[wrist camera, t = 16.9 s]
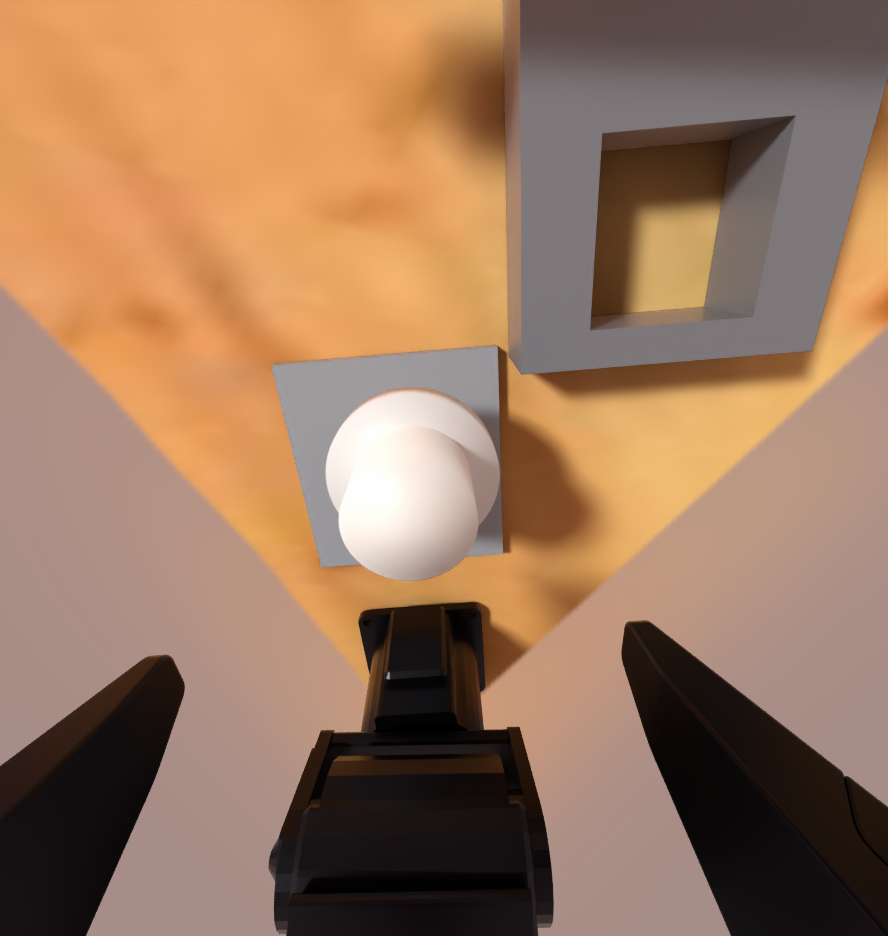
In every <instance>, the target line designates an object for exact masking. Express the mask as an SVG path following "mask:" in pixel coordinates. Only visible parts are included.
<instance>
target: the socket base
mask: <svg viewBox="0 0 888 936" xmlns="http://www.w3.org/2000/svg"><path fill="white" fill-rule="evenodd" d="M503 27H504V90H505V153H506V217H507V280H508V343H509V358H510V359H511V360H512V362H513V363H514V365H515V366H516V368H517V369H518V371H519V372H520V373H521V375H524V374H536V373H549V372H561V371H573V370H585V369H597V368H609V367H621V366H633V365H645V364H658V363H670V362H682V361H694V360H706V359H718V358H730V357H742V356H755V355H767V354H779V353H791V352H803V351H812V350H813V346H814V343H815V339H816V336H817V332H818V328H819V325H820V321H821V318H822V314H823V310H824V307H825V303H826V300H827V296H828V292H829V289H830V285H831V282H832V278H833V274H834V271H835V267H836V264H837V260H838V256H839V253H840V249H841V245H842V242H843V238H844V235H845V231H846V227H847V224H848V220H849V217H850V213H851V209H852V206H853V202H854V199H855V195H856V191H857V188H858V184H859V181H860V177H861V173H862V170H863V166H864V163H865V159H866V155H867V152H868V148H869V145H870V141H871V137H872V134H873V130H874V127H875V123H876V119H877V116H878V112H879V109H880V105H881V101H882V98H883V94H884V90H885V87H886V83H887V80H888V0H503ZM731 139H732V143H731V149H730V155H729V161H728V167H727V173H726V179H725V185H724V191H723V197H722V203H721V209H720V215H719V221H718V227H717V233H716V239H715V245H714V251H713V257H712V263H711V269H710V276H709V282H708V288H707V294H706V300H705V306H704V307H696V308H685V309H673V310H661V311H649V312H637V313H626V314H614V315H602V316H591V307H592V291H593V275H594V258H595V242H596V226H597V210H598V193H599V177H600V161H601V151H611V150H622V149H633V148H643V147H654V146H665V145H676V144H687V143H698V142H709V141H720V140H731Z"/></svg>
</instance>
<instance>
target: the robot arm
mask: <svg viewBox="0 0 888 936" xmlns="http://www.w3.org/2000/svg"><path fill="white" fill-rule="evenodd" d="M469 612H474V613H469ZM366 619H370V620H371V621H367V620H366ZM359 628H360V633H361V637H362V642H363V646H364V651H365V655H366V660H367V665H368V669H369V674H370V677H369V683H368V690H367V697H366V703H365V709H364V716H363V722H362V729H361V732H338V733H337V732H334V730H322V731H321V732H320V735H319V738H318V740H317V743H316V745H315V748H313V749H312V750H311V753H310V756H309V758H308V761H307V764H306V766H305V769H304V771H303V774H302V777H301V779H300V782H299V784H298V787H297V790H296V793H295V795H294V798H293V801H292V803H291V805H290V808H289V811H288V813H287V816H286V819H285V821H284V824H283V826H282V829H281V832H280V835H279V838H278V840H277V842H276V843H275V845H274V847H273V849H272V851H271V855H270V859H269V871H270V873H271V875H272V876H273V878H274V880H275V894H274V895H275V896H274V921H275V925H276V930H277V932H278V933H279V934H286V936H538V929H537V928H545V927H546V928H547V927H551V925H552V921H553V906H554V905H553V904H554V902H553V881H552V870H551V862H550V854H549V853H550V852H549V845H548V839H547V832H546V827H545V821H544V816H543V813H542V808H541V804H540V800H539V797H538V793H537V789H536V786H535V782H534V779H533V775H532V771H531V767H530V764H529V760H528V756H527V753H526V749H525V745H524V742H523V738H522V734H521V731H520V727H507V729H503V730H484V727H483V717H482V706H481V697H480V692H481V691H483V690H484V689H485V674H484V656H483V638H482V621H481V609H480V606H479V605H478V604H475V603H460V604H446V605H432V606H419V607H405V608H391V609H377V610H366V611H363V612H362V613H361V614H360V617H359ZM621 653H622V661H623V665H624V668H625V671H626V675H627V678H628V681H629V684H630V687H631V690H632V694H633V697H634V700H635V703H636V706H637V709H638V713H639V716H640V719H641V722H642V725H643V728H644V732H645V734H646V737H647V740H648V743H649V746H650V749H651V751H652V753H653V756H654V758H655V761H656V763H657V765H658V768H659V770H660V772H661V775H662V777H663V779H664V782H665V784H666V786H667V788H668V791H669V793H670V795H671V798H672V800H673V803H674V805H675V807H676V809H677V812H678V814H679V816H680V819H681V821H682V823H683V826H684V828H685V830H686V833H687V835H688V837H689V839H690V842H691V844H692V846H693V849H694V851H695V854H696V856H697V858H698V860H699V863H700V865H701V867H702V870H703V872H704V874H705V877H706V879H707V881H708V884H709V886H710V888H711V891H712V893H713V895H714V897H715V900H716V902H717V904H718V906H719V909H720V911H721V914H722V916H723V918H724V921H725V923H726V925H727V928H728V930H729V932H730V935H731V936H888V807H887V806H886V805H885V804H884V803H882V802H881V801H880V800H878V799H877V798H876V797H874V796H873V795H872V794H870V793H869V792H868V791H867V790H865V789H864V788H863V787H862V786H860V785H859V784H858V783H856V782H855V781H854V780H853V779H851V778H850V777H848V776H845V777H844V775H843V773H842V771H841V770H839V769H838V768H837V767H836V766H834V765H833V764H832V763H830V762H829V761H828V760H827V759H825V758H824V757H822V755H820V754H819V753H818V752H816V751H815V750H814V749H812V748H811V747H810V746H808V745H807V744H806V743H805V742H803V741H802V740H801V739H799V738H798V737H797V736H796V735H795V734H793V733H792V732H791V731H789V730H788V729H787V728H785V727H784V726H783V725H782V724H781V723H779V722H778V721H777V720H775V719H774V718H773V717H772V716H770V715H769V714H768V713H766V712H765V711H764V710H762V709H761V708H760V707H759V706H757V705H756V704H755V703H754V702H752V701H751V700H749V699H748V698H747V697H746V696H745V695H743V694H742V693H740V692H739V691H738V690H737V689H736V688H734V687H733V686H732V685H731V684H729V683H728V682H727V681H725V680H724V679H723V678H722V677H720V676H719V675H718V674H716V673H715V672H714V671H713V670H711V669H710V668H709V667H707V666H706V665H705V664H704V663H702V662H701V661H700V660H699V659H697V658H696V657H695V656H693V655H692V654H691V653H690V652H688V651H687V650H686V649H684V648H683V647H682V646H681V645H679V644H678V643H677V642H675V641H674V640H673V639H672V638H670V637H669V636H668V635H666V634H665V633H664V632H663V631H661V630H660V629H659V628H658V627H656V626H655V625H654V624H652V623H651V622H649V621H646V620H642V621H629V622H627V623H626V625H625V628H624V636H623V644H622V652H621ZM184 690H185V685H184V681H183V679H182V677H181V675H180V673H179V670H178V668H177V666H176V664H175V662H174V660H173V658H172V657H170V656H169V655H156V656H148V657H146V658H144V659H143V660H141V661H140V662H139V663H137V664H136V665H134V666H133V667H132V668H130V669H129V670H128V671H127V672H125V673H124V674H122V675H121V676H120V677H118V678H117V679H116V680H115V681H113V682H112V683H110V684H109V685H108V686H106V687H105V688H104V689H102V690H101V691H100V692H98V693H97V694H96V695H95V696H93V697H92V698H90V699H89V700H88V701H86V702H85V703H84V704H82V705H81V706H80V707H78V708H77V709H76V710H74V711H73V712H72V713H70V714H69V715H68V716H66V717H65V718H64V719H62V720H61V721H60V722H59V723H57V724H56V725H54V726H53V727H52V728H50V729H49V730H48V731H46V732H45V733H44V734H42V735H41V736H40V737H39V738H37V739H36V740H34V741H33V742H32V743H30V744H29V745H28V746H26V747H25V748H24V749H22V750H21V751H20V752H19V753H17V754H16V755H14V756H13V757H12V758H10V759H9V760H8V761H6V762H5V763H4V764H2V765H1V766H0V936H86V935H87V932H88V930H89V928H90V925H91V923H92V921H93V918H94V917H95V914H96V912H97V910H98V907H99V905H100V903H101V901H102V898H103V896H104V894H105V892H106V889H107V887H108V885H109V882H110V880H111V878H112V876H113V873H114V871H115V869H116V867H117V864H118V862H119V860H120V858H121V855H122V853H123V850H124V848H125V846H126V844H127V841H128V839H129V837H130V835H131V833H132V830H133V828H134V826H135V823H136V821H137V819H138V817H139V814H140V812H141V810H142V807H143V805H144V803H145V801H146V799H147V796H148V794H149V792H150V789H151V787H152V784H153V782H154V780H155V777H156V774H157V772H158V769H159V766H160V763H161V761H162V758H163V755H164V752H165V749H166V746H167V743H168V740H169V737H170V734H171V731H172V728H173V725H174V722H175V719H176V716H177V714H178V711H179V708H180V705H181V702H182V699H183V696H184Z"/></svg>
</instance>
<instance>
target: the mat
mask: <svg viewBox="0 0 888 936" xmlns="http://www.w3.org/2000/svg"><path fill="white" fill-rule="evenodd" d="M272 370H273V374H274V378H275V382H276V386H277V390H278V394H279V398H280V403H281V407H282V411H283V415H284V419H285V423H286V427H287V431H288V435H289V439H290V443H291V447H292V451H293V455H294V459H295V463H296V467H297V471H298V475H299V479H300V483H301V487H302V491H303V495H304V499H305V503H306V507H307V511H308V515H309V519H310V523H311V527H312V531H313V535H314V539H315V543H316V547H317V551H318V555H319V559H320V564H321V567H334V566H347V565H361V564H360V563H359V562H358V561H357V560H356V559H355V558H354V557H353V556H352V555H351V554H350V552H349V551H348V549H347V548H346V546H345V544H344V542H343V540H342V537H341V534H340V530H339V513H338V511H337V510H336V508H335V507H334V504H333V502H332V500H331V498H330V495H329V492H328V488H327V483H326V461H327V456H328V452H329V449H330V446H331V444H332V442H333V440H334V438H335V436H336V434H337V432H338V430H339V429H340V427H341V425H342V424H343V422H344V421H345V419H346V418H347V417H348V416H349V414H350V413H351V412H352V411H353V410H354V409H355V408H357V407H358V406H359V405H360V404H361V403H363V402H364V401H366V400H368V399H369V398H371V397H373V396H375V395H377V394H380V393H382V392H385V391H389V390H392V389H398V388H405V387H418V388H428V389H432V390H436V391H440V392H442V393H445V394H448V395H450V396H452V397H454V398H456V399H458V400H460V401H461V402H462V403H464V404H465V405H467V406H468V407H469V408H470V409H471V410H472V411H473V412H474V413H475V414H477V416H478V417H479V418H480V419H481V421H482V422H483V423H484V425H485V427H486V428H487V430H488V432H489V434H490V436H491V439H492V441H493V444H494V447H495V451H496V454H497V458H498V462H499V470H500V480H499V488H498V493H497V496H496V499H495V502H494V504H493V506H492V508H491V510H490V512H489V513H488V515H487V516H486V517H485V519H484V520H483V521H482V522H481V523H480V525H479V526H478V531H477V536H476V539H475V542H474V544H473V546H472V548H471V550H470V551H469V553H468V554H467V555H466V557H468V556H481V555H494V554H503V531H502V493H501V455H500V417H499V379H498V347H497V346H496V345H491V346H479V347H467V348H455V349H443V350H431V351H419V352H407V353H395V354H384V355H372V356H360V357H348V358H336V359H324V360H312V361H300V362H288V363H276V364H274V365H273V366H272Z"/></svg>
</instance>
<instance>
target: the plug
mask: <svg viewBox="0 0 888 936" xmlns="http://www.w3.org/2000/svg"><path fill="white" fill-rule="evenodd" d="M499 480H500V470H499V462H498V458H497V454H496V451H495V447H494V444H493V441H492V439H491V436H490V434H489V432H488V430H487V428H486V427H485V425H484V423H483V422H482V421H481V419H480V418H479V417H478V416H477V414H475V413H474V412H473V411H472V410H471V409H470V408H469V407H468V406H467V405H465V404H464V403H462V402H461V401H460V400H458V399H456V398H454V397H452V396H450V395H448V394H445V393H442V392H440V391H436V390H432V389H428V388H418V387H405V388H398V389H392V390H389V391H385V392H382V393H380V394H377V395H375V396H373V397H371V398H369V399H368V400H366V401H364V402H363V403H361V404H360V405H359V406H358V407H357V408H355V409H354V410H353V411H352V412H351V413H350V414H349V416H348V417H347V418H346V419H345V421H344V422H343V424H342V425H341V427H340V429H339V430H338V432H337V434H336V436H335V438H334V440H333V442H332V444H331V446H330V449H329V452H328V456H327V461H326V483H327V488H328V492H329V495H330V498H331V500H332V502H333V504H334V507H335V508H336V510H337V511H338V513H339V530H340V534H341V537H342V540H343V542H344V544H345V546H346V548H347V549H348V551H349V552H350V554H351V555H352V556H353V557H354V558H355V559H356V560H357V561H358V562H359V563H360V564H361V565H363V566H364V567H366V568H367V569H369V570H370V571H372V572H374V573H376V574H379V575H381V576H384V577H387V578H391V579H396V580H404V581H417V580H424V579H429V578H433V577H436V576H438V575H441V574H443V573H445V572H447V571H449V570H450V569H452V568H454V567H455V566H456V565H457V564H459V563H460V562H461V561H462V560H463V559H464V558H465V557H466V555H467V554H468V553H469V551H470V550H471V548H472V546H473V544H474V542H475V539H476V536H477V531H478V526H479V525H480V523H481V522H482V521H483V520H484V519H485V517H486V516H487V515H488V513H489V512H490V510H491V508H492V506H493V504H494V502H495V499H496V496H497V493H498V488H499Z"/></svg>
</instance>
